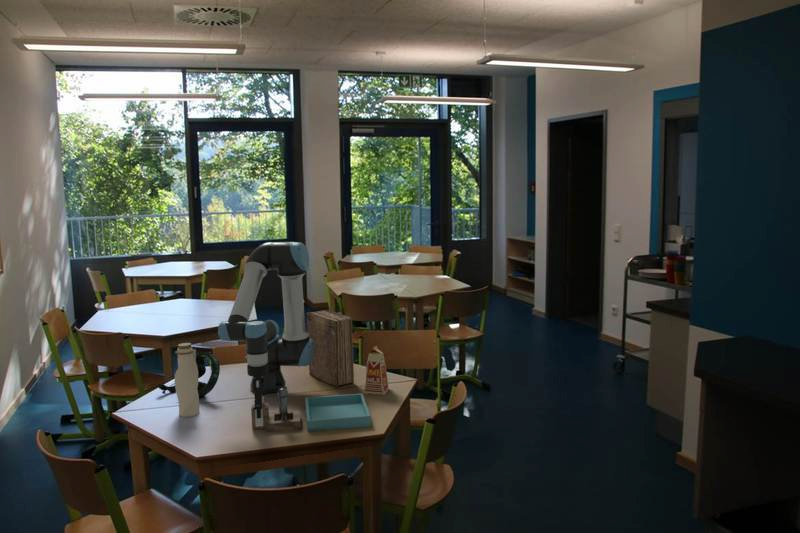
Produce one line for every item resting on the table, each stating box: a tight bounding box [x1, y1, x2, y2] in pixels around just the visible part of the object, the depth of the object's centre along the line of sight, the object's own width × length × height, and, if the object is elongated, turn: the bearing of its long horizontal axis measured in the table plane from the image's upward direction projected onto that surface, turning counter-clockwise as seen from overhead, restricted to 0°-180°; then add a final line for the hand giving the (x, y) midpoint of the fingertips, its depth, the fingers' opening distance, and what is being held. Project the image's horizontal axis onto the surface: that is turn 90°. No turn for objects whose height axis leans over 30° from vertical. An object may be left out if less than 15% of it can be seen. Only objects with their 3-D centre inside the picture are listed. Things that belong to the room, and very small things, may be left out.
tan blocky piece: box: [250, 402, 301, 433], centre depth 247 cm, size 12×18×8 cm
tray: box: [304, 392, 372, 433], centre depth 255 cm, size 26×23×4 cm
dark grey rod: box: [276, 387, 289, 420], centre depth 247 cm, size 4×4×14 cm
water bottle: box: [174, 342, 200, 418], centre depth 261 cm, size 10×9×28 cm
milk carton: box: [363, 345, 389, 395], centre depth 283 cm, size 9×9×20 cm
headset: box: [157, 352, 221, 397], centre depth 282 cm, size 18×14×29 cm
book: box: [306, 308, 355, 389], centre depth 300 cm, size 25×9×30 cm, turn 35°
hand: (260, 419), depth 246 cm, fingers open, 13 cm apart
